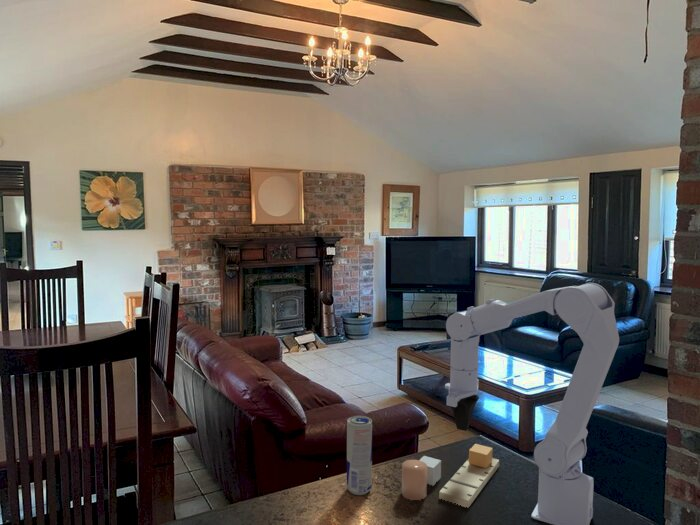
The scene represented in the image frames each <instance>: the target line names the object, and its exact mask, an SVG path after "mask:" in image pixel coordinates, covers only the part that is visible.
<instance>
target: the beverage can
mask: <svg viewBox="0 0 700 525" xmlns="http://www.w3.org/2000/svg"><path fill="white" fill-rule="evenodd" d="M346 421H347V424H346V489H347V490H348V491H349V492H350V493H351V494H353V495H356V496H365V495H367V493H369V492H370V491H372V484H373V483H372V482H373V481H372V476H373V475H372V474H373V470H372V469H373V467H372V466H373V419H372V418H370V417H368V416H366V415H365V416H364V415H354V416H353V415H352V416H350V417H348V418H347V420H346Z"/></svg>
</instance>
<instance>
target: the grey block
mask: <svg viewBox="0 0 700 525" xmlns="http://www.w3.org/2000/svg"><path fill="white" fill-rule="evenodd" d="M419 461H422V462H424V463H426V465H427V485H428V484H429V486H431V485H432V487H434V486H435V485H436V484H437V483H438V481H440V480H441V478H442V460H440V459H437V458H434V457H430V456H426V455H423V456H422V457H421V458H420V459H419ZM436 482H437V483H436Z"/></svg>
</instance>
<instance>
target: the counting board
mask: <svg viewBox="0 0 700 525" xmlns="http://www.w3.org/2000/svg"><path fill="white" fill-rule="evenodd" d="M499 467H500V459H499V458H498V459H497V458H494V457H492V462H491V463H490V465H489V466H488V467H487V468H484V467H480V466H476V465H473V464H469V458H467V459H466V461H465V462H464V463H463V465H461V466H460V467H459V469H458V470H457V471H456V472H455V473H454V474H453V476H452V477H451V478H450V479H449V480H448V481H447V482H446V483H445V484H444V486H443V487H442V488H441V489H440V490H439V492H438V493H439V494H438V499H439V500H441V499H442V501H444V500H445V502H447V501H449V502H448V503H450V502H452V503H451V504H454V503H456V504H455V505H457V504H458V506H460V505H461V507H464V508H466V507H467V509H469V507H471V505H472V504H473V503H474V501H475V500H476V498H478V495H480V493H481V491H482V490H483V489H484V488H485V486H486V485H487V483H488V482H489V480H490V479H491V478H492V477H493V475H494V474H495V473H496V471H497V470H498V469H499Z"/></svg>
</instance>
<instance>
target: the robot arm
mask: <svg viewBox="0 0 700 525" xmlns="http://www.w3.org/2000/svg"><path fill="white" fill-rule="evenodd" d="M615 304H616V303H615V301H614V299H613V298H612V297H611V295H610V294H609V293H608V290H606V288H604V287H603V286H602V285H600V284H598V283H595V282H586V283H583V284H580V285H572V286H571V285H570V286H563V287H557V288H552V289H548V290H543V291H541V292H537V293H535V294H532V295H529V296H526V297H523V298H521V299H518V300H515V301H512V302H510V303H507V302H504V301H503V300H501V299H497V300H495V298H491V299H487V300H485V304H482V305H478V306H473V305H472V306H469V307H467V308H466V310H464V311H461V312H459V311H457V312H454V313H453V314H450V315H449V317H447V319H446V323H445V330H446V333H447V334H448V336H449V337H450V362H449V363H450V365H449V366H450V371H449V372H450V374H449V382H448V383H447V382H446V383H445V385H444V389H447V390H448V395H447V396H446V403H445V404H446V406H448V407H450V408H451V410H452V413H453V417H454V422H455V426H456V429H457V430H460V431H464V432H466V431H468V429H469V427H470V425H471V424H470V423H471V420H472V415H473V412H474V409H475V407H476V404H477V403H478V401H479V398H480V397H479V395H477V394H478V393H479V387H480V386H479V383H480V379H479V378H478V374H479V343H480V337H481V336H483V335H485V334H490V333H493V332H497V331H499V330H505V329H506V328H507V329H508V328H509V327H510V326H511V324H512V322H513V320H515V319H517V318H520V317H521V318H522V317H525V316H529V315H532V314H536V313H540V312H546V313H548V314H550V315H551V316H556V315H558V317H559V318H560V319H561V320H562V321H563V322H564V323H565V324H567V326H569V327H570V328H571V329H572V330H573V331H575V332H576V334H577V336H579V338H580V340H581V342H582V343H583V346H582V347H581V350H580V354H579V356H578V359H577V362H576V365H575V367H574V370H573V372H572V375H571V377H570V380H569V384H568V385H567V389H566V391H565V394H564V397H563V399H562V401H561V405H560V407H559V410H558V412H557V415H556V418H555V420H554V422H553V423H552V424H551V426H550V427H549V428H548V430H547V432H546V434H545V436H544V439H543V440H542V441H539V443H538V444H536V446H535V447H534V449H533V450H534V451H533V458H534V461H535V463H536V466H537V467H538V487H537V488H538V489H537V490H538V491H537V492H538V493H537V495H538V496H537V503H536V505H535V507H534V509H533V511H532V513H531V515H530V516H531V518H532V519H534V520H537V521H540V522H544V523H547V524H550V525H590V523H591V520H592V519H593V516H594V506H593V503H594V502H593V501H594V480H595V479H594V477H592V476H590V475H587V474H585V473H584V472H582V469H581V463H580V462H581V461H582V459H584V458H585V456H586V454H587V450H588V447H587V437H588V434H589V431H588V429H587V426H588V423H589V420H590V418H591V415H592V412H593V410H594V408H595V406H596V403H597V401H598V398H599V395H600V393H601V390H602V387H603V385H604V382H605V380H606V377H607V374H608V373H609V370H610V367H611V365H612V362H613V360H614V357H615V354H616V351H617V350H618V347H619V343H620V334H619V329H618V326H617V321H616V320H617V319H616V316H615V306H616V305H615Z"/></svg>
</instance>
